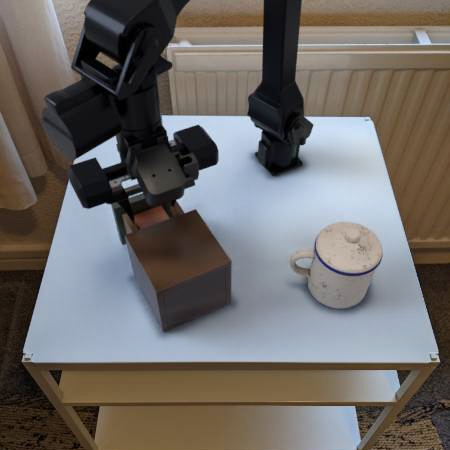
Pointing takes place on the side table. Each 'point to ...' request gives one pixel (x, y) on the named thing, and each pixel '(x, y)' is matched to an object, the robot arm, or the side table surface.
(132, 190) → the drawer
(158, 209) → the block
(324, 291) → the teacup with lid
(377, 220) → the side table surface
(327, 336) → the side table surface
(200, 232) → the cabinet
